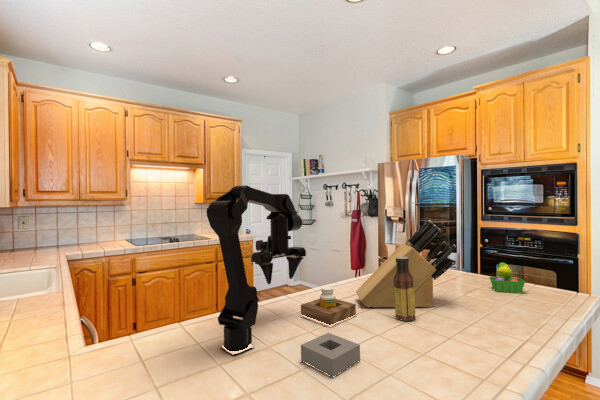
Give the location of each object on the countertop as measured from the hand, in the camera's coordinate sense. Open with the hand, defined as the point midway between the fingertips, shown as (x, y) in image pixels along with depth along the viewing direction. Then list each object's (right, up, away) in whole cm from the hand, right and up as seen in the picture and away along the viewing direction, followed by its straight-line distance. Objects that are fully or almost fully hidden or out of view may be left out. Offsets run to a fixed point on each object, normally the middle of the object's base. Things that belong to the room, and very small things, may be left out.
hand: (280, 281), depth 101 cm
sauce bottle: (+41, -13, +1) cm, 42 cm away
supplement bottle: (+16, -13, +4) cm, 21 cm away
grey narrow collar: (+14, -13, -26) cm, 32 cm away
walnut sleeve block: (+16, -13, +4) cm, 21 cm away
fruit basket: (+93, -12, +30) cm, 98 cm away
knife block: (+46, -13, +16) cm, 50 cm away
